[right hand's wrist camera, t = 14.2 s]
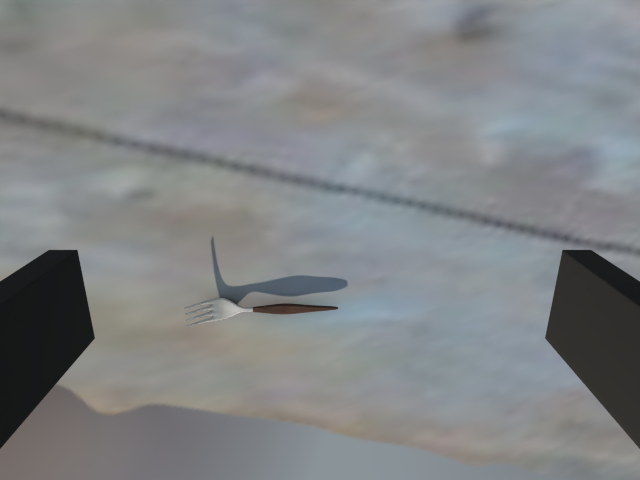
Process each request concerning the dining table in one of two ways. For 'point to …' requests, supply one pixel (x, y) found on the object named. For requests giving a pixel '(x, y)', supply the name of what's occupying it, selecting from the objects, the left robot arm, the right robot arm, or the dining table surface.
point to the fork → (249, 309)
